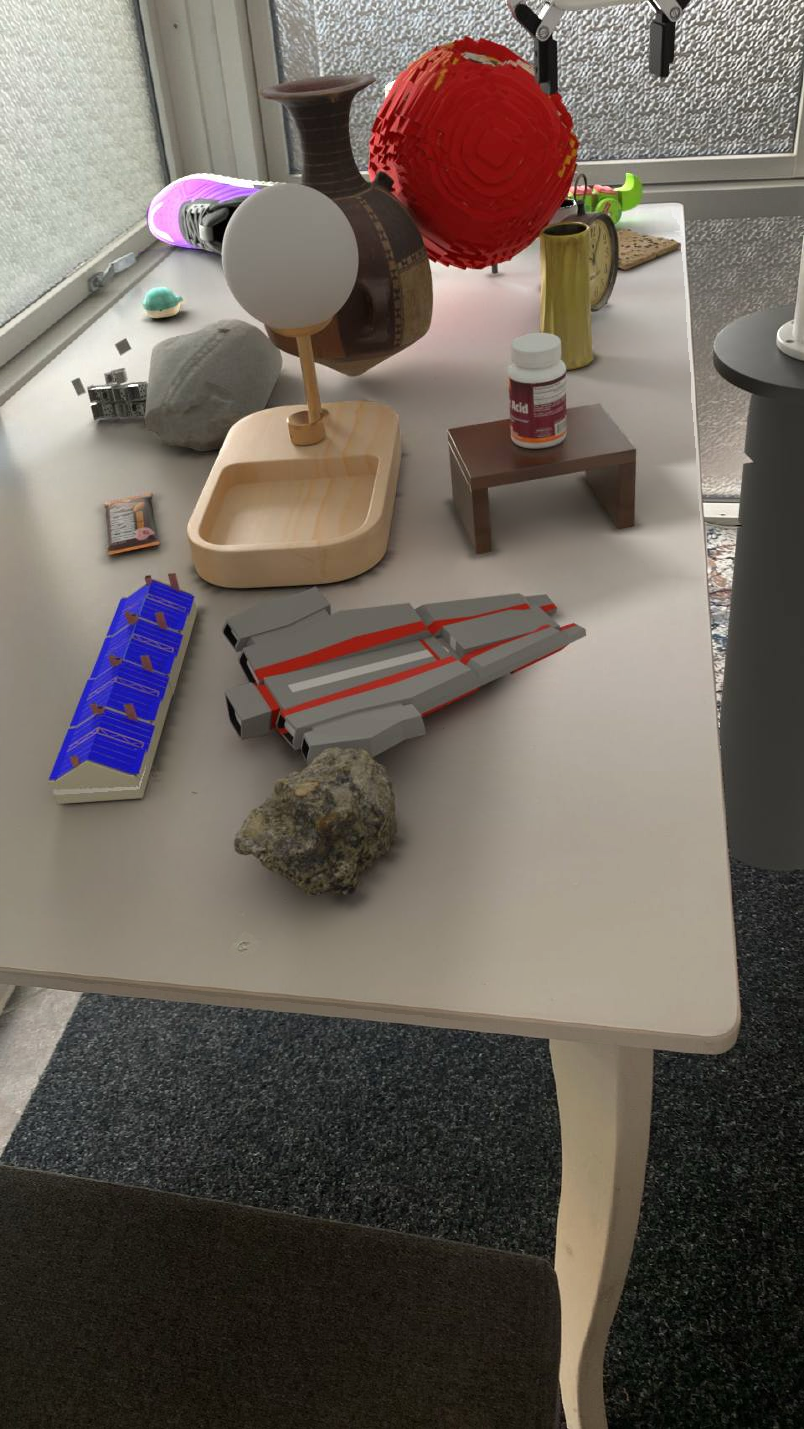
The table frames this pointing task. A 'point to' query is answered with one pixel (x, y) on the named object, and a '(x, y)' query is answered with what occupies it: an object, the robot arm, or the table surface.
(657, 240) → the cookie
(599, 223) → the alarm clock
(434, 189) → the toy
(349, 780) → the rock
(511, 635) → the toy spaceship
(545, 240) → the vase
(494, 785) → the table surface
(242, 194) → the running shoe
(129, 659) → the building
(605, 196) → the toy crocodile
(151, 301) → the whale figurine
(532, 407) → the pill bottle
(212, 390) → the stone
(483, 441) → the shelf
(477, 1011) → the table surface
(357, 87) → the vase
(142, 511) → the chocolate bar
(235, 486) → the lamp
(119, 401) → the house of cards
